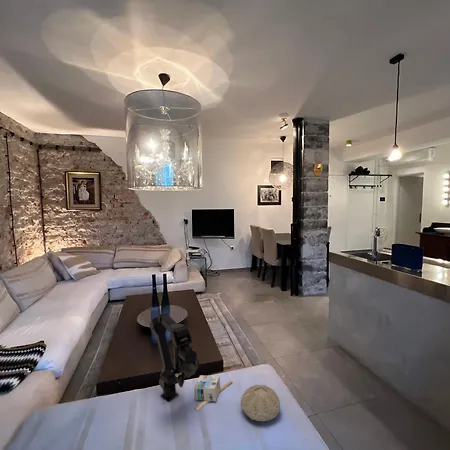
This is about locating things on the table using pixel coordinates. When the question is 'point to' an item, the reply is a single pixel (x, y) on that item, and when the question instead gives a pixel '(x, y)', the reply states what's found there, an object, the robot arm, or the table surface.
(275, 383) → the table surface
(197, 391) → the light bulb box
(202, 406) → the rail
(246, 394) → the beige carved stone
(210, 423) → the table surface
